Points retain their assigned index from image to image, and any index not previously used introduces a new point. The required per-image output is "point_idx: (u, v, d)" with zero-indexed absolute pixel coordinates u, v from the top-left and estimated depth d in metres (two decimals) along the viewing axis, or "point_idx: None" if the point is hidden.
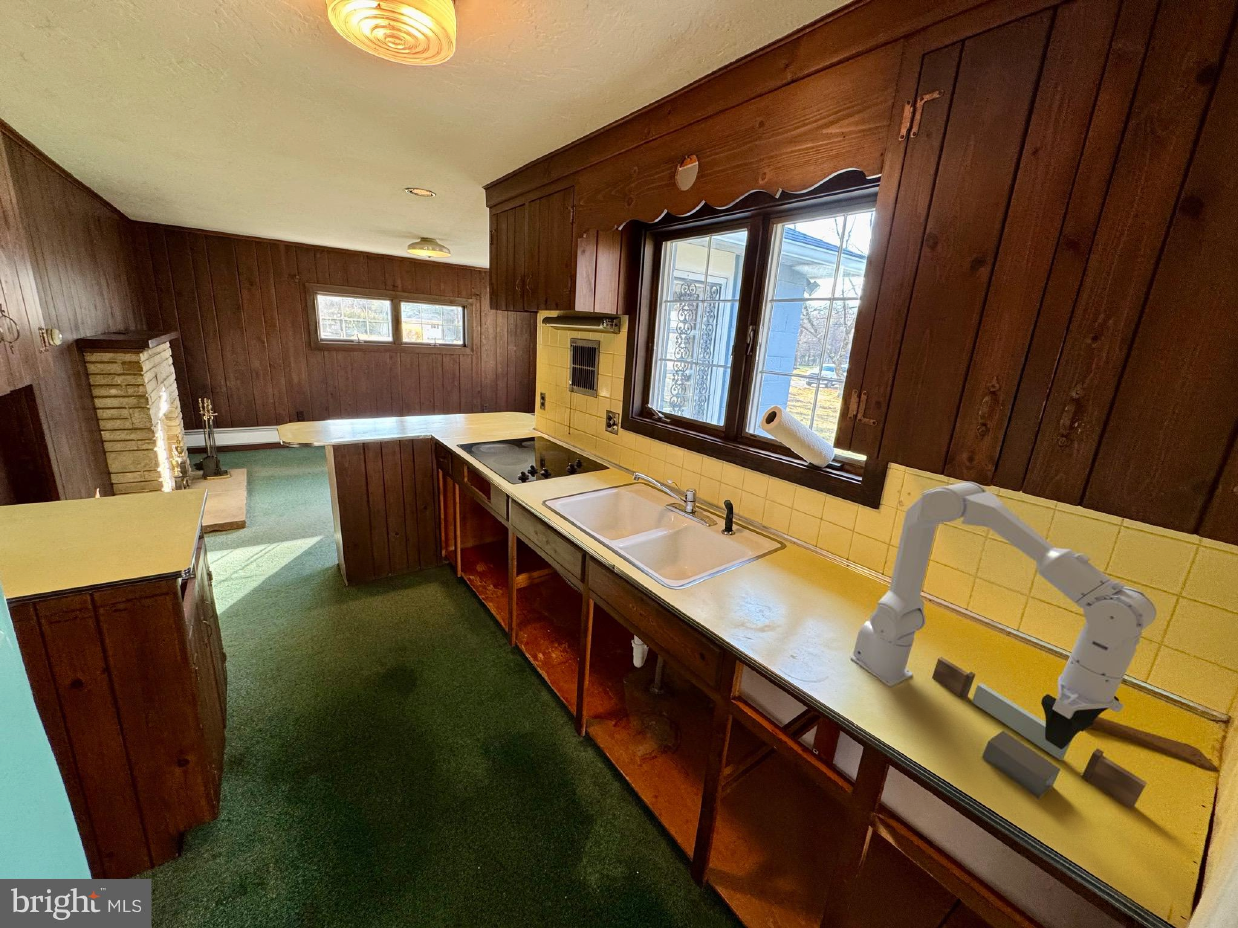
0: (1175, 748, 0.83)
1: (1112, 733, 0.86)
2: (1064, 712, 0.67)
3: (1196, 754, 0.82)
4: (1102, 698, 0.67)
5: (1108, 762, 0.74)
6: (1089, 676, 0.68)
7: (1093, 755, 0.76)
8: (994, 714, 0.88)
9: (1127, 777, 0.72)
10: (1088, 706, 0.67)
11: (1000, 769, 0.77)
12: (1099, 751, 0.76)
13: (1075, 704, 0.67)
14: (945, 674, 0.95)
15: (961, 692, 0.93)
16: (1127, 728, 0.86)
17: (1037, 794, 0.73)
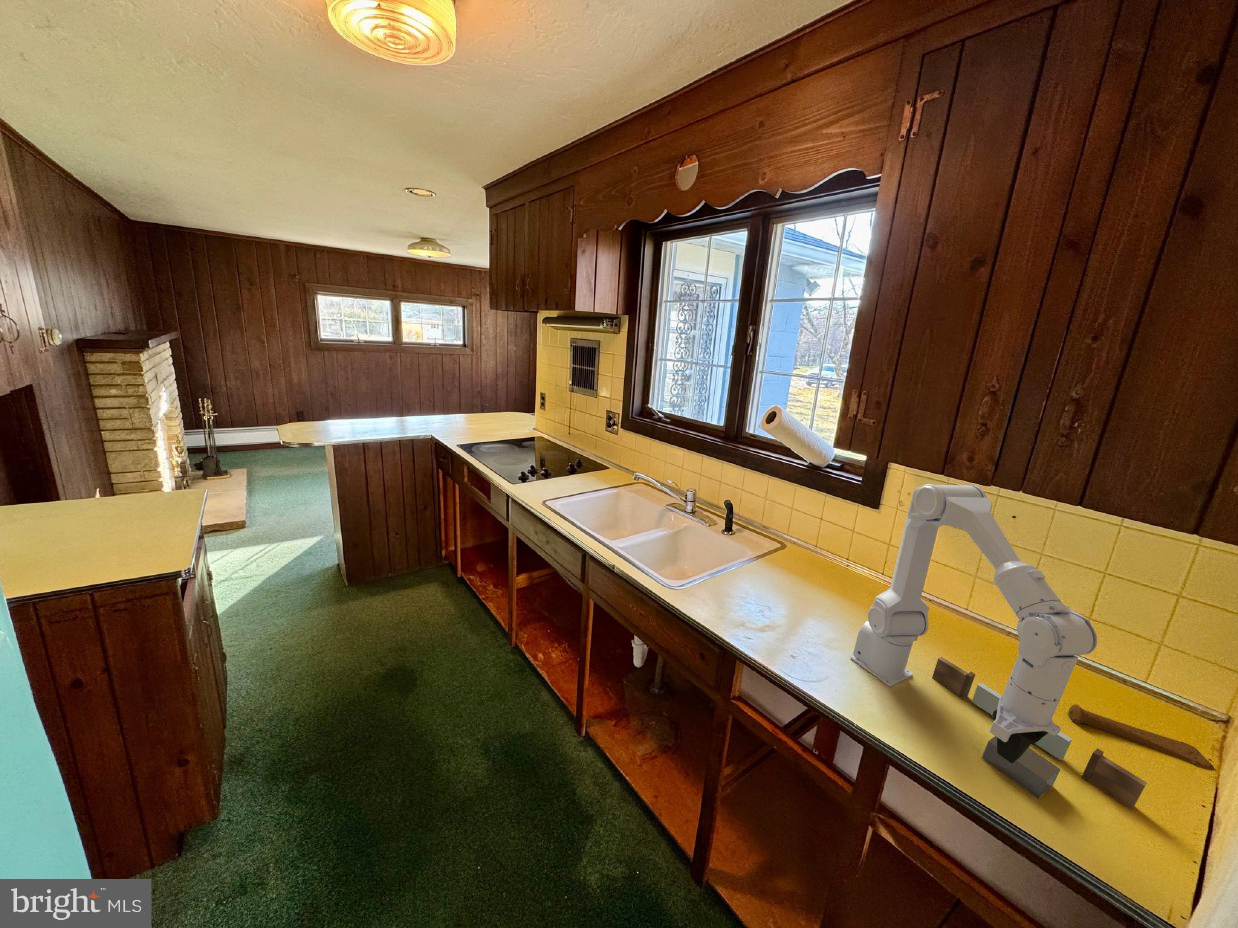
0: (1171, 746, 0.83)
1: (1107, 730, 0.86)
2: (1001, 735, 0.66)
3: (1193, 752, 0.83)
4: (1039, 721, 0.66)
5: (1108, 762, 0.74)
6: (1026, 698, 0.66)
7: (1093, 755, 0.76)
8: None
9: (1127, 777, 0.72)
10: (1024, 729, 0.66)
11: (1000, 769, 0.77)
12: (1099, 751, 0.76)
13: (1012, 727, 0.66)
14: (945, 674, 0.95)
15: (961, 692, 0.93)
16: (1123, 725, 0.86)
17: (1037, 794, 0.73)
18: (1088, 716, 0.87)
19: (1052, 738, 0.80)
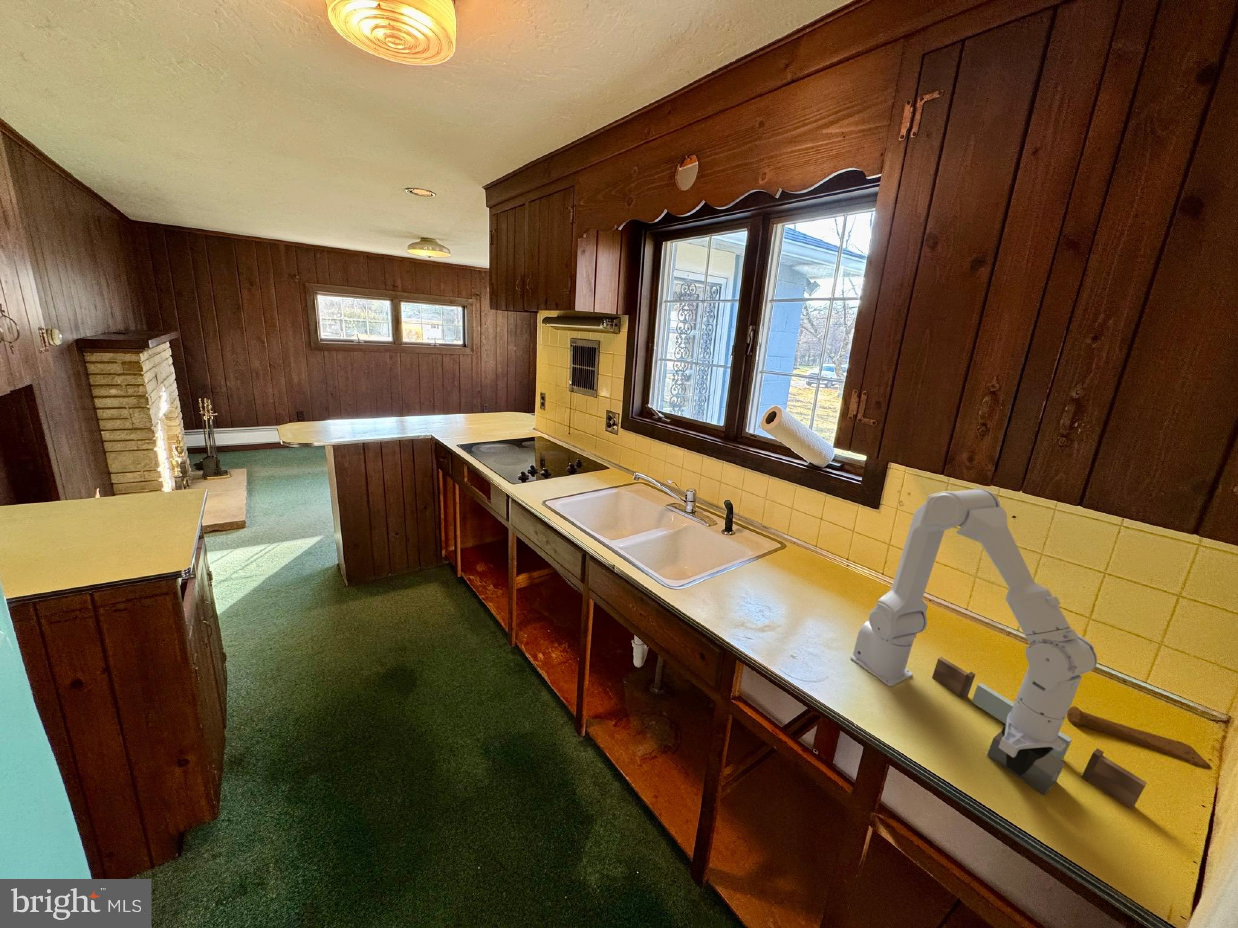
0: (1168, 746, 0.83)
1: (1106, 731, 0.86)
2: (1009, 751, 0.70)
3: (1189, 752, 0.83)
4: (1045, 737, 0.70)
5: (1108, 762, 0.74)
6: (1033, 716, 0.71)
7: (1093, 755, 0.76)
8: (994, 714, 0.88)
9: (1127, 777, 0.72)
10: (1031, 745, 0.70)
11: None
12: (1099, 751, 0.76)
13: (1019, 743, 0.71)
14: (945, 674, 0.95)
15: (961, 692, 0.93)
16: (1122, 727, 0.86)
17: (1043, 789, 0.74)
18: (1087, 718, 0.87)
19: None
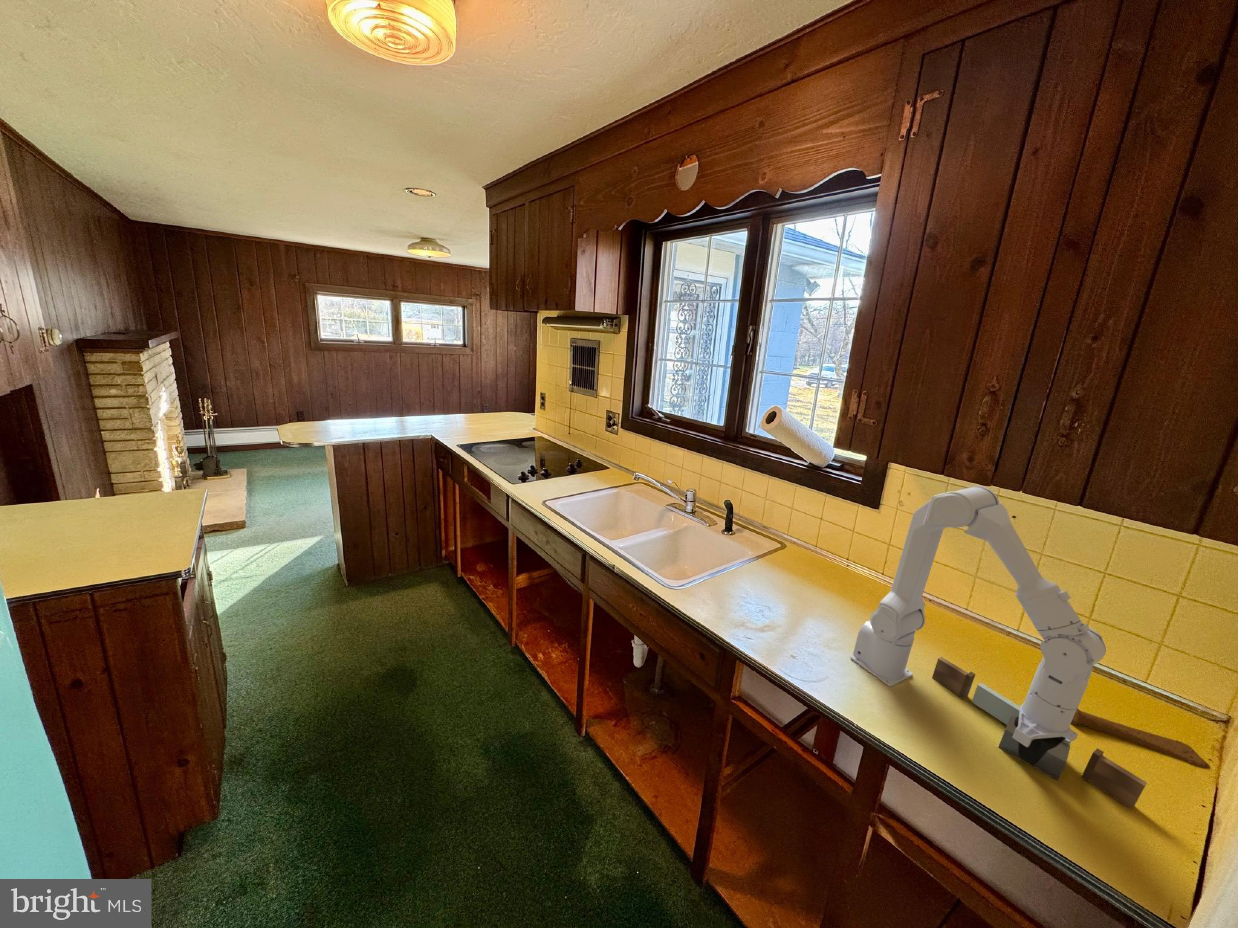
0: (1167, 746, 0.83)
1: (1104, 731, 0.86)
2: (1023, 741, 0.72)
3: (1188, 751, 0.83)
4: (1058, 728, 0.72)
5: (1108, 762, 0.74)
6: (1046, 707, 0.73)
7: (1093, 755, 0.76)
8: (994, 714, 0.88)
9: (1127, 777, 0.72)
10: (1044, 735, 0.72)
11: (1018, 755, 0.80)
12: (1099, 751, 0.76)
13: (1033, 733, 0.73)
14: (945, 674, 0.95)
15: (961, 692, 0.93)
16: (1120, 726, 0.86)
17: (1057, 775, 0.76)
18: (1085, 717, 0.87)
19: None
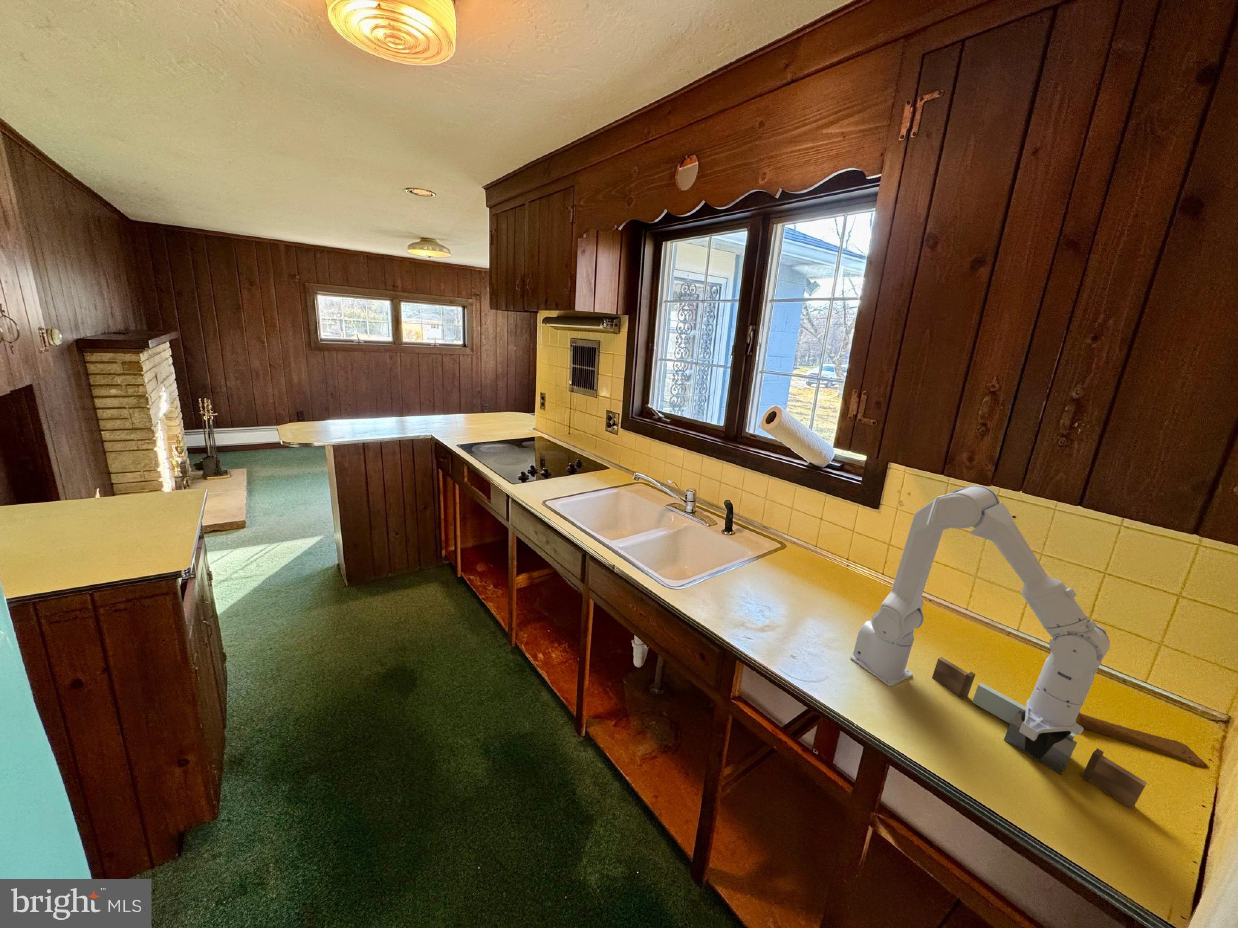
0: (1166, 747, 0.83)
1: (1105, 733, 0.86)
2: (1030, 734, 0.74)
3: (1186, 751, 0.83)
4: (1064, 722, 0.74)
5: (1108, 762, 0.74)
6: (1052, 702, 0.74)
7: (1093, 755, 0.76)
8: (996, 713, 0.88)
9: (1127, 777, 0.72)
10: (1051, 729, 0.73)
11: (1023, 748, 0.81)
12: (1099, 751, 0.76)
13: (1039, 727, 0.74)
14: (945, 674, 0.95)
15: (961, 692, 0.93)
16: (1120, 728, 0.86)
17: (1061, 769, 0.77)
18: (1086, 720, 0.86)
19: None
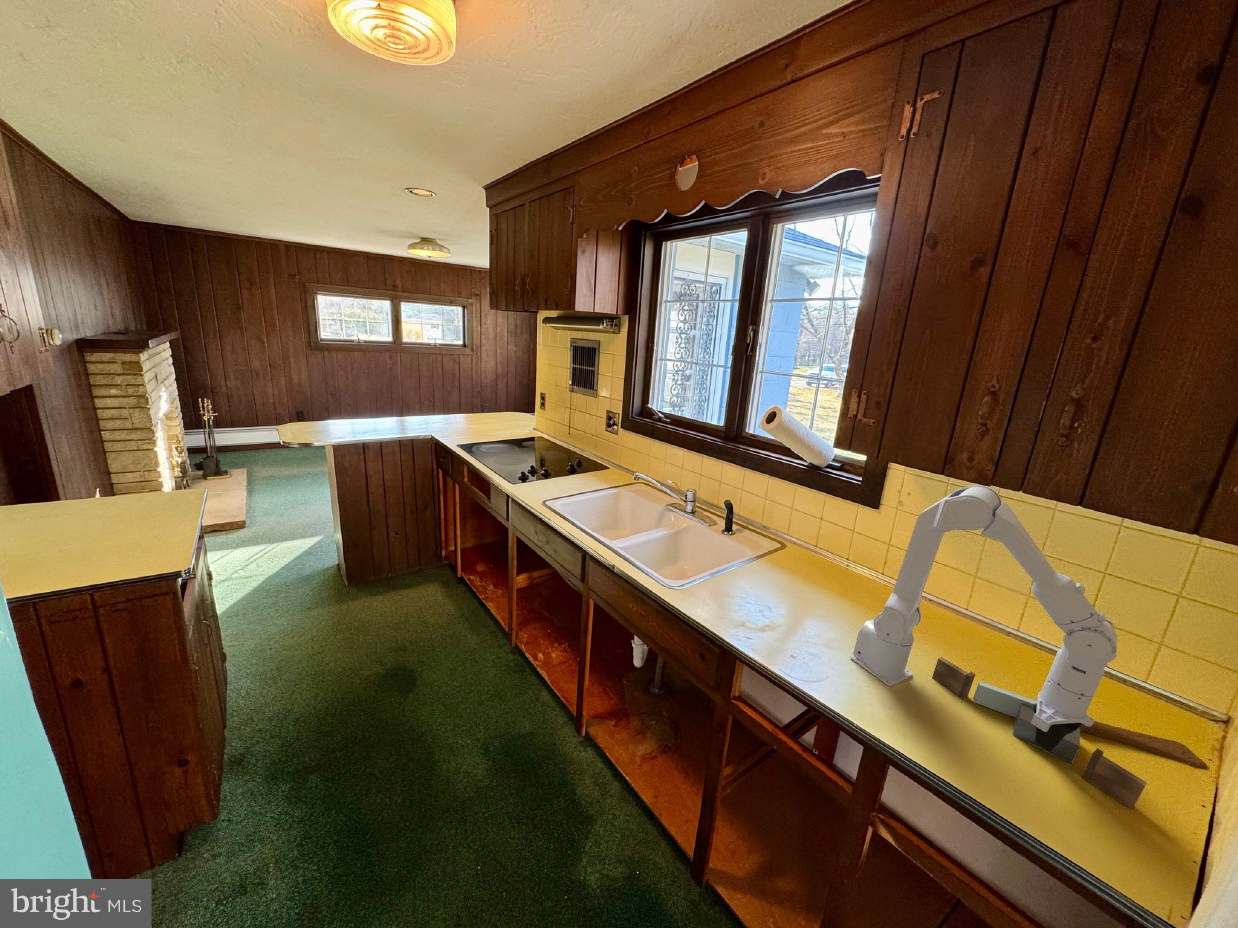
0: (1166, 748, 0.83)
1: (1107, 736, 0.85)
2: (1041, 726, 0.75)
3: (1185, 751, 0.83)
4: (1075, 714, 0.75)
5: (1108, 762, 0.74)
6: (1064, 694, 0.76)
7: (1093, 755, 0.76)
8: (998, 709, 0.89)
9: (1127, 777, 0.72)
10: (1062, 721, 0.75)
11: (1032, 741, 0.83)
12: (1099, 751, 0.76)
13: (1051, 719, 0.76)
14: (945, 674, 0.95)
15: (961, 692, 0.93)
16: (1121, 730, 0.85)
17: (1071, 758, 0.80)
18: None
19: None
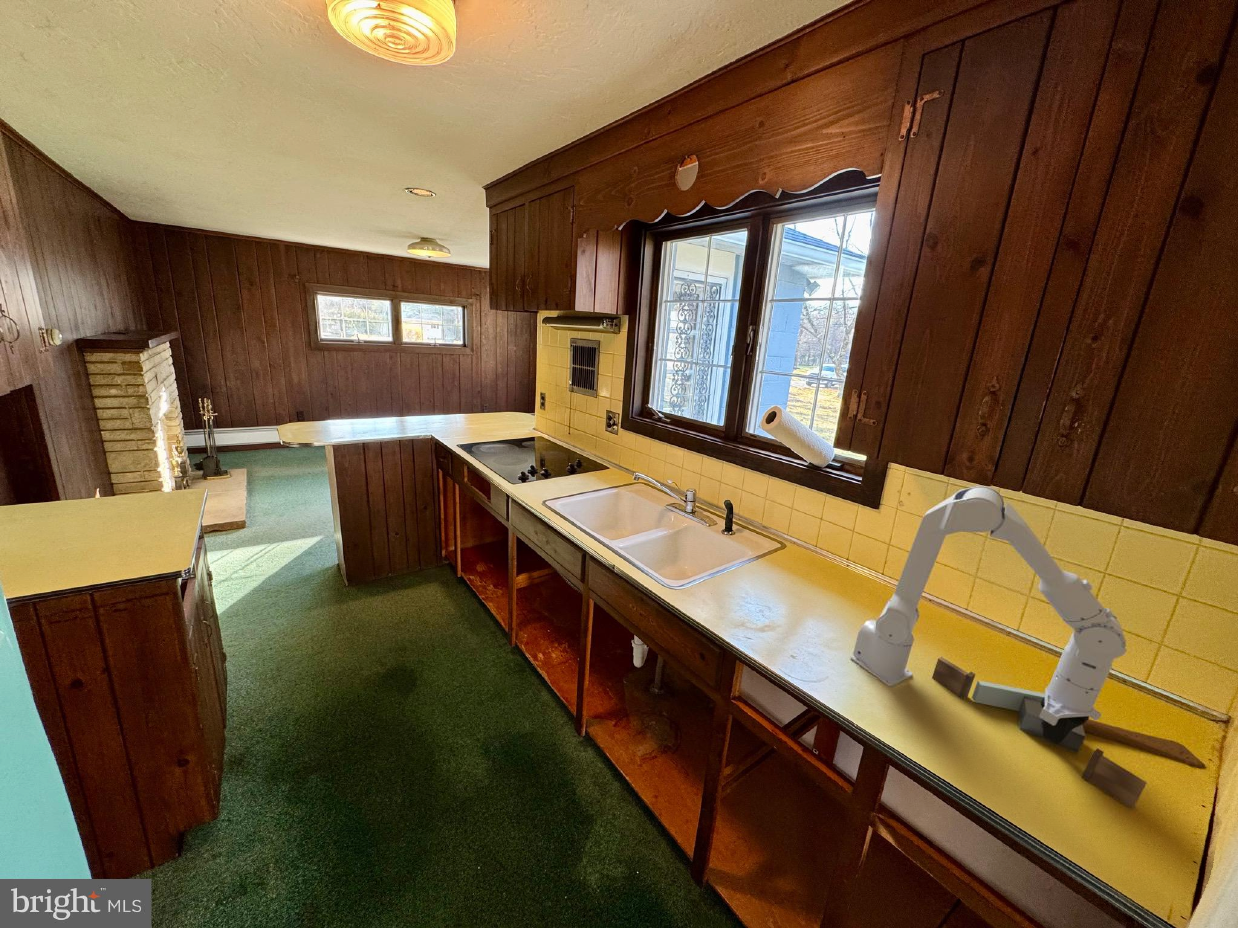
0: (1164, 747, 0.83)
1: (1105, 736, 0.85)
2: (1050, 720, 0.77)
3: (1183, 751, 0.83)
4: (1083, 707, 0.77)
5: (1108, 762, 0.74)
6: (1071, 688, 0.77)
7: (1093, 755, 0.76)
8: (997, 704, 0.90)
9: (1127, 777, 0.72)
10: (1070, 714, 0.76)
11: (1039, 735, 0.84)
12: (1099, 751, 0.76)
13: (1059, 713, 0.77)
14: (945, 674, 0.95)
15: (961, 692, 0.93)
16: (1119, 730, 0.85)
17: (1076, 749, 0.82)
18: (1086, 723, 0.86)
19: None
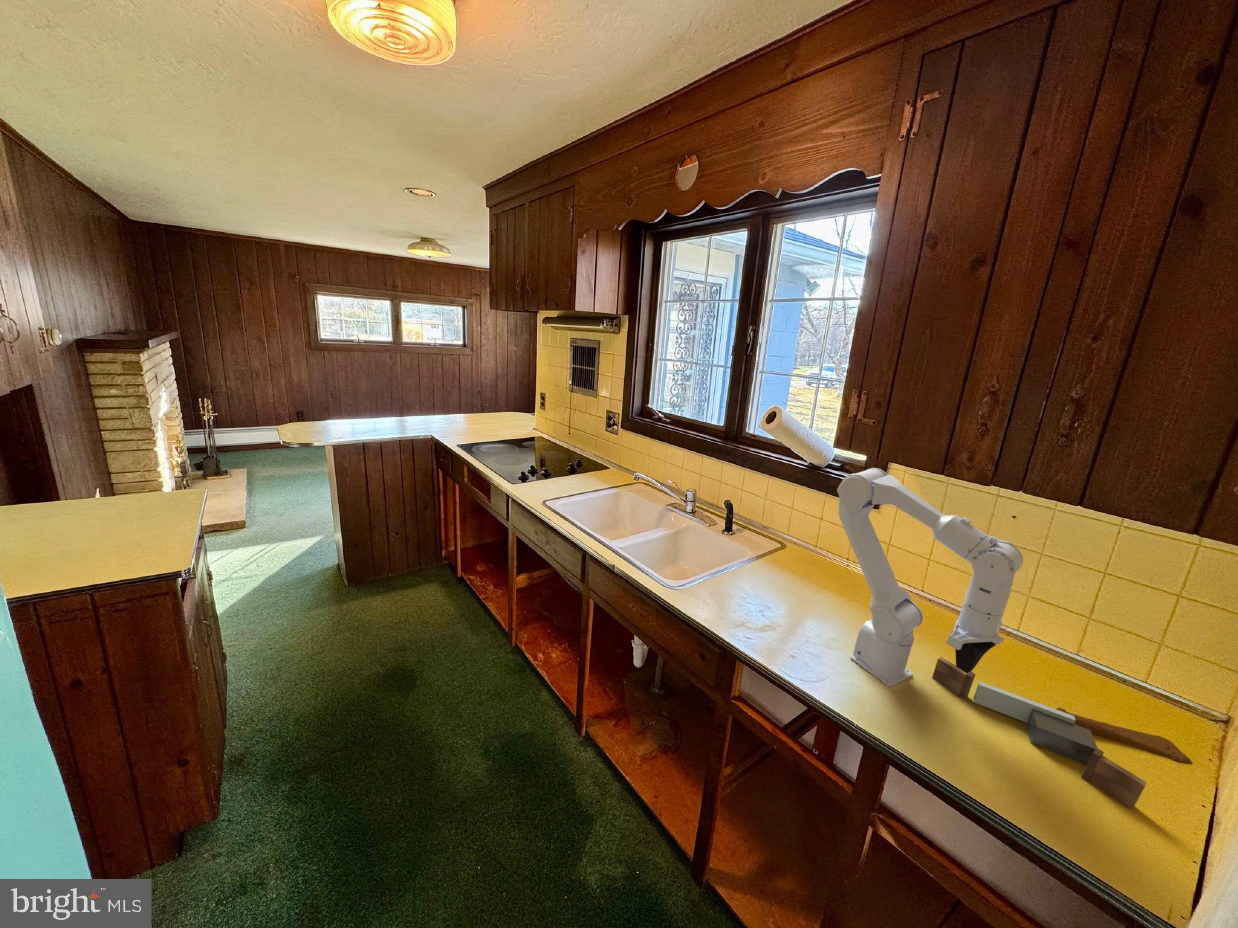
0: (1150, 743, 0.84)
1: (1092, 731, 0.86)
2: (955, 645, 0.81)
3: (1169, 747, 0.84)
4: (986, 633, 0.82)
5: (1108, 762, 0.74)
6: (975, 615, 0.82)
7: (1093, 755, 0.76)
8: (998, 709, 0.89)
9: (1127, 777, 0.72)
10: (974, 640, 0.81)
11: (1050, 749, 0.82)
12: (1099, 751, 0.76)
13: (964, 639, 0.82)
14: (945, 674, 0.95)
15: (961, 692, 0.93)
16: (1106, 725, 0.86)
17: None
18: None
19: None
